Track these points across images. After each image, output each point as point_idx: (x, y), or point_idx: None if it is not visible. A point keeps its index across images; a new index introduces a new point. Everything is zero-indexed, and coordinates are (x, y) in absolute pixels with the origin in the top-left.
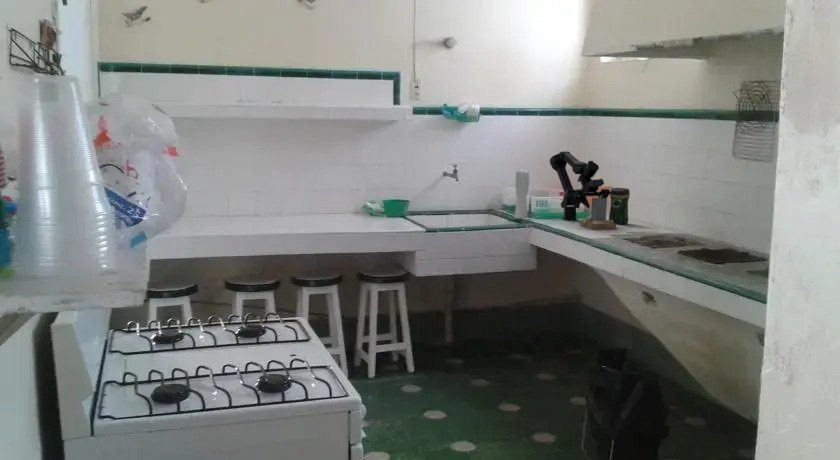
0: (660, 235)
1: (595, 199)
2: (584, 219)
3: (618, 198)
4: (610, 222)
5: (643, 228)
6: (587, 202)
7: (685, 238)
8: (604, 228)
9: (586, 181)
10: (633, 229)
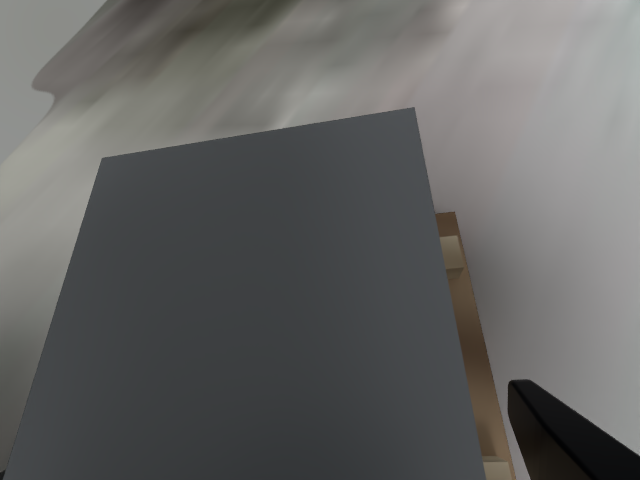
0: (161, 52)
1: (428, 217)
2: (507, 476)
3: None
4: None
5: (43, 266)
6: (636, 476)
7: (124, 2)
8: None
9: None
10: None
